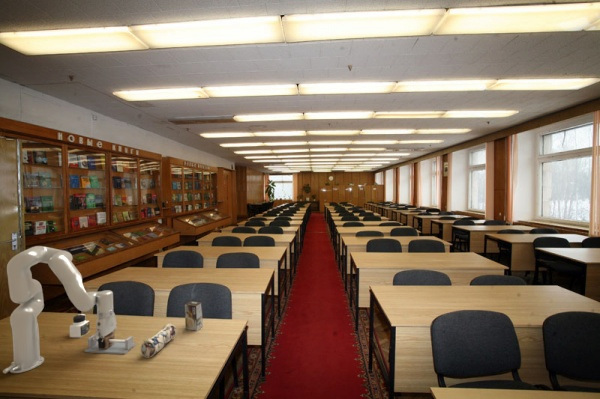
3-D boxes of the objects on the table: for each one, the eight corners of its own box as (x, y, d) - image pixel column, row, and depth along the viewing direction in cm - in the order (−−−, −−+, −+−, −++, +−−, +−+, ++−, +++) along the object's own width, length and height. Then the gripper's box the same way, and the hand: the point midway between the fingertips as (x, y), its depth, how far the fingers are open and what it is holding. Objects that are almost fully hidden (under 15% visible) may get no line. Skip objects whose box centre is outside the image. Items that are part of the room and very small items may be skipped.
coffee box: (203, 326, 185) (202, 302, 184) (197, 331, 179) (196, 306, 178) (191, 324, 188) (190, 300, 187) (184, 329, 182) (184, 304, 181)
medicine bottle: (81, 337, 172) (80, 318, 171) (69, 337, 172) (68, 318, 172) (90, 331, 179) (89, 313, 179) (78, 331, 179) (78, 312, 179)
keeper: (106, 349, 157) (106, 338, 156) (98, 348, 157) (97, 338, 157) (114, 343, 163) (114, 332, 162) (106, 342, 163) (106, 332, 163)
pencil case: (154, 359, 150) (154, 341, 149) (139, 358, 151) (139, 340, 150) (177, 337, 171) (177, 321, 171) (164, 336, 172) (164, 321, 172)
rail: (125, 354, 154) (124, 342, 154) (84, 352, 156) (83, 340, 156) (136, 345, 163) (135, 334, 163) (97, 343, 165) (97, 332, 165)
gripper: (99, 320, 150) (100, 353, 151) (122, 307, 167) (123, 336, 168) (86, 320, 151) (87, 353, 152) (110, 306, 168) (111, 336, 169)
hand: (106, 344), depth 160 cm, fingers closed on keeper, 6 cm apart
